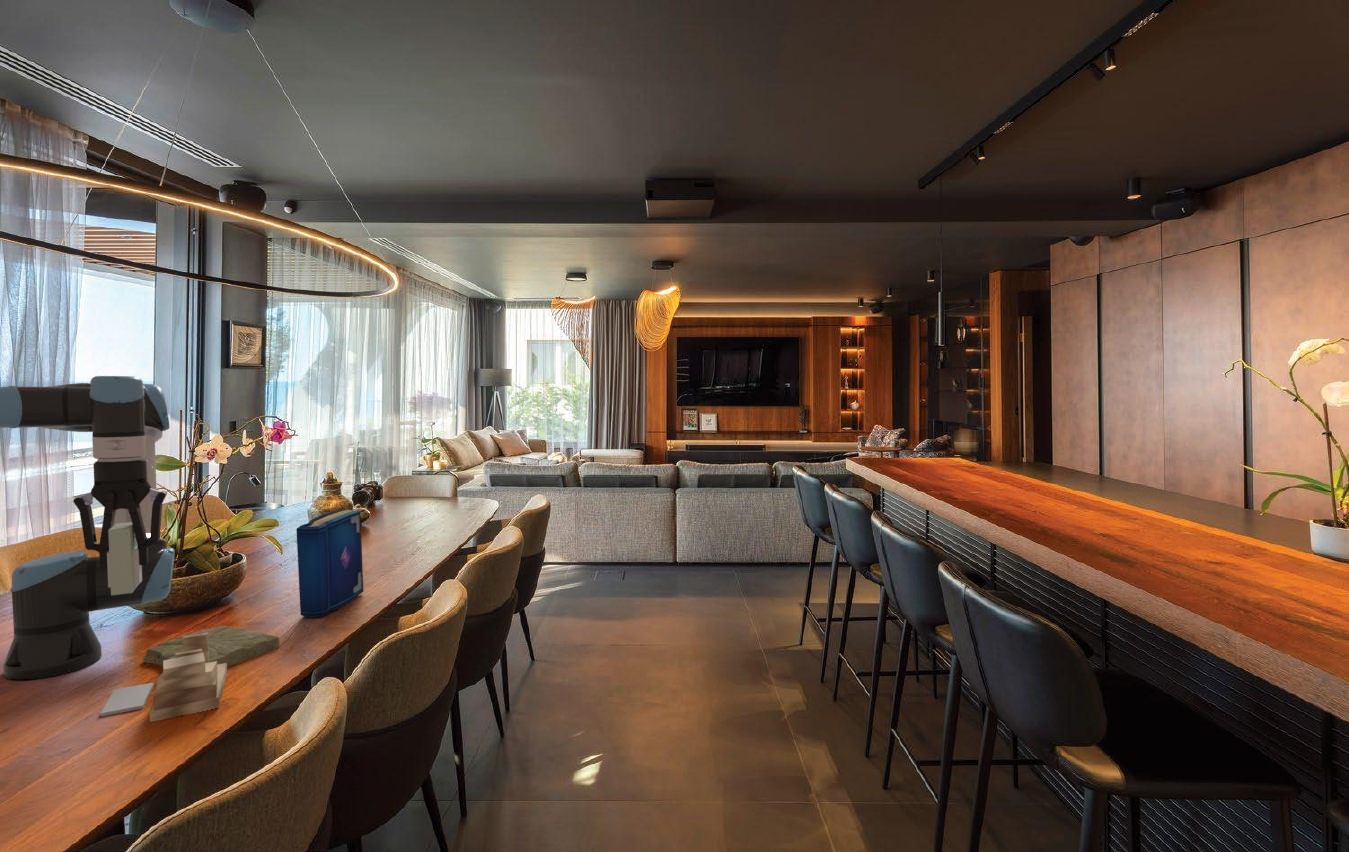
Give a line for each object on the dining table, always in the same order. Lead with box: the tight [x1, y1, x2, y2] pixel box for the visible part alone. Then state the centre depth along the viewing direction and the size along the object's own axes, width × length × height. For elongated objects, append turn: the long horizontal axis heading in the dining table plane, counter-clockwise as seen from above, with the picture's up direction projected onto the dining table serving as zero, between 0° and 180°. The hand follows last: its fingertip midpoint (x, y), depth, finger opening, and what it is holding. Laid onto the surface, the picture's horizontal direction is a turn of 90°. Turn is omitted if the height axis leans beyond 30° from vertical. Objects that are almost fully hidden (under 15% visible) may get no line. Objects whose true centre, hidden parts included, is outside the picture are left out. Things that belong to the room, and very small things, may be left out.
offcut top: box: [162, 653, 205, 681], centre depth 119 cm, size 6×5×2 cm
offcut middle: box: [156, 661, 218, 693], centre depth 120 cm, size 8×5×2 cm, turn 115°
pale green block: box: [108, 522, 139, 595], centre depth 122 cm, size 3×7×12 cm, turn 31°
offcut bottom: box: [153, 676, 217, 711], centre depth 120 cm, size 9×6×2 cm, turn 123°
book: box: [296, 509, 364, 618], centre depth 177 cm, size 22×7×25 cm, turn 179°
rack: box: [149, 633, 228, 723], centre depth 125 cm, size 10×18×9 cm, turn 30°
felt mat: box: [99, 682, 155, 718], centre depth 123 cm, size 6×11×1 cm, turn 31°
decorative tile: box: [142, 625, 280, 668], centre depth 144 cm, size 19×20×4 cm
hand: (125, 583), depth 122 cm, fingers closed on pale green block, 3 cm apart
